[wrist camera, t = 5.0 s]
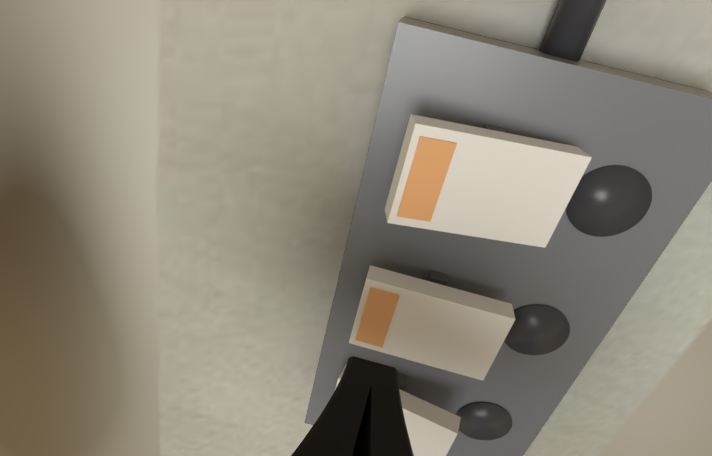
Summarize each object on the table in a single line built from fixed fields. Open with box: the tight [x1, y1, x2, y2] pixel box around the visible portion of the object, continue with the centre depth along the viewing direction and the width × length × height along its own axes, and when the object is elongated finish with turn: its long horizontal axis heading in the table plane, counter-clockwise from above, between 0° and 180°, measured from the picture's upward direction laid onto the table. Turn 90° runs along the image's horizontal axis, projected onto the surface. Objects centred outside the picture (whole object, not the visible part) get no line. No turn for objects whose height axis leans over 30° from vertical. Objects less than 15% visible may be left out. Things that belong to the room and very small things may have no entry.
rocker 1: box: [385, 114, 592, 248], centre depth 13 cm, size 3×5×1 cm, turn 78°
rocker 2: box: [349, 265, 515, 381], centre depth 15 cm, size 3×5×1 cm, turn 78°
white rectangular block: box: [335, 365, 461, 456], centre depth 18 cm, size 3×5×1 cm, turn 78°
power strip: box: [305, 0, 712, 456], centre depth 16 cm, size 25×10×3 cm, turn 168°
